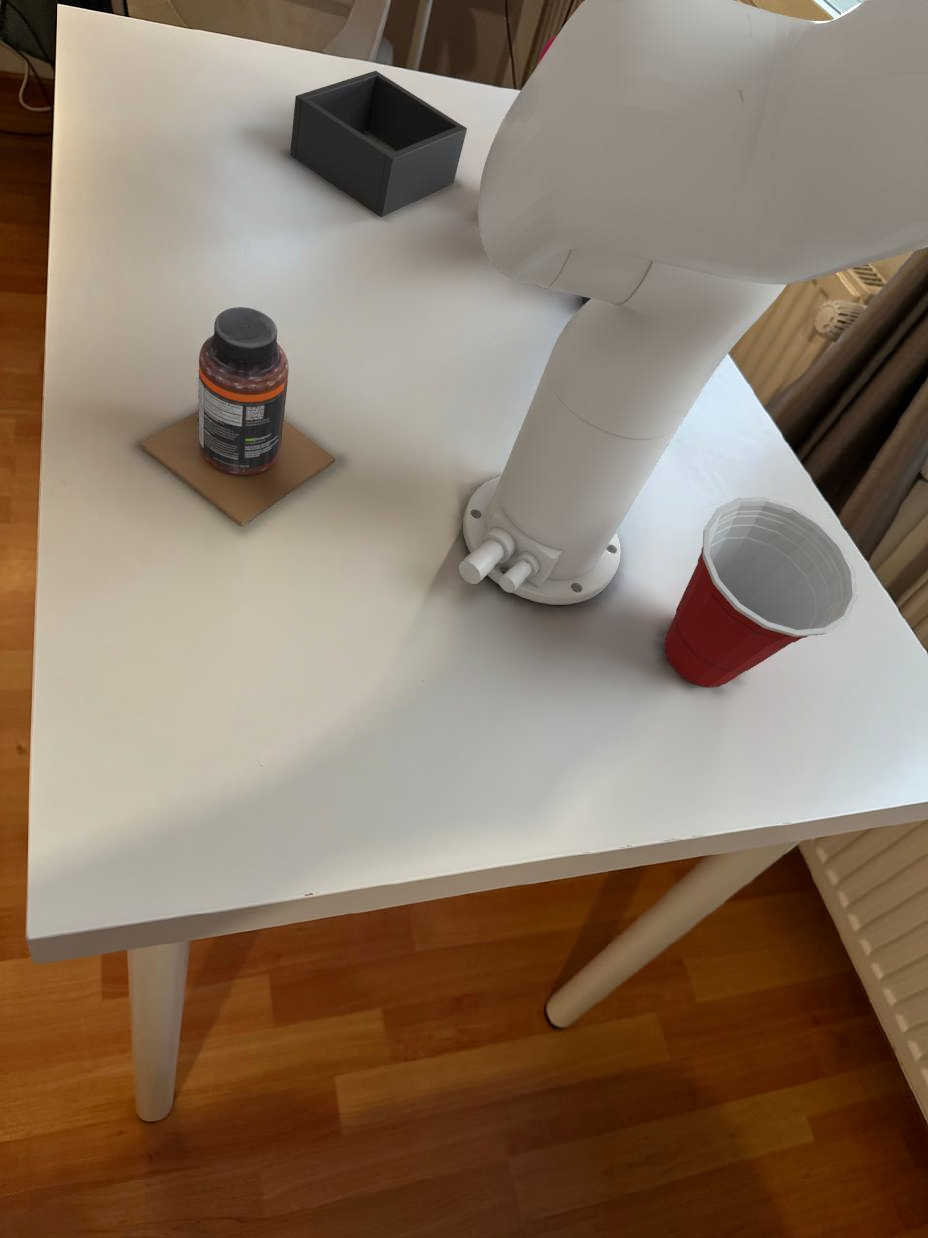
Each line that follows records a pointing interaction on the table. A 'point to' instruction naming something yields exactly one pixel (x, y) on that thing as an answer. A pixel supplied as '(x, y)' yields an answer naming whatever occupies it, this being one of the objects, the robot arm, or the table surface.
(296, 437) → the coaster
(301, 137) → the bin
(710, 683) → the plastic cup
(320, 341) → the table surface
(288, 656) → the table surface
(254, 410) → the supplement bottle
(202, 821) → the table surface
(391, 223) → the table surface
